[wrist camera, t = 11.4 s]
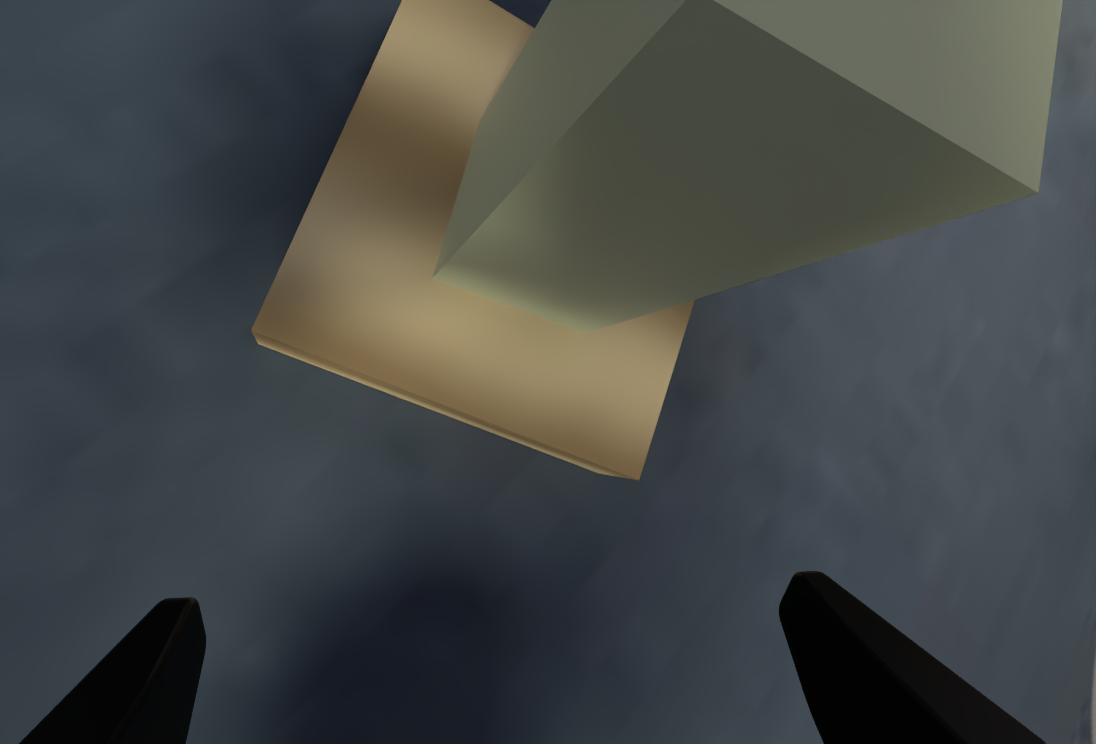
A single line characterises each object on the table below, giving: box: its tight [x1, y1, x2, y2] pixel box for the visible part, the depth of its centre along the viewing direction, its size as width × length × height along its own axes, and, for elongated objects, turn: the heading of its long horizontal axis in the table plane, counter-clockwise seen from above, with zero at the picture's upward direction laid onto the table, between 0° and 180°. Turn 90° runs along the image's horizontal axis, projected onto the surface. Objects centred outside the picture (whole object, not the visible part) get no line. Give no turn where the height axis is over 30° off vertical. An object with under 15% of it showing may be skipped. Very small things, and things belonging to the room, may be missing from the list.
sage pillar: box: [432, 0, 1063, 333], centre depth 13 cm, size 5×5×13 cm
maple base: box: [251, 0, 695, 480], centre depth 21 cm, size 12×12×3 cm
